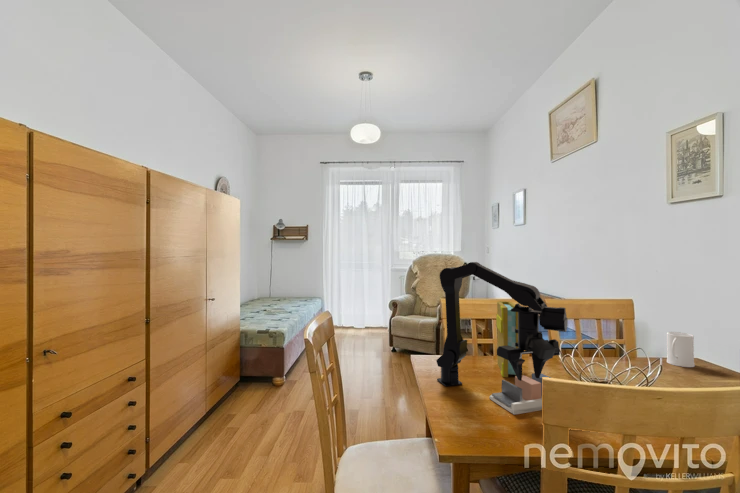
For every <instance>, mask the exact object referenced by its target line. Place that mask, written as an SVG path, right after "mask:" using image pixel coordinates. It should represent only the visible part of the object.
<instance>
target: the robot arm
mask: <svg viewBox="0 0 740 493" xmlns="http://www.w3.org/2000/svg"><path fill="white" fill-rule="evenodd" d="M470 276H474V277H477V278H479V279H480V280H482V281H484V282H486V283H488V284H490V285H492V286H494V287H496V288H498V289H500V290H501V291H503V292H505V293H506V294H507V295H509V297H510V298H511V299H513V300H514V301H515V302H517V303H515V306H514V307H513V308H512V309H511V311H512V312H518V329H515V333H518V342H517V343H515V346H517V347H518V348H514V347H511V346H509V345H507V346H499V347H498V348H497V347H496V356H497V355H498V356H500V357H502V358H504V359H507V360H509V362H510V364H511V365H512V368H513V370H514V372H515V374H516V376H517V378H518V380H520V381H521V380H522V375H523V364H524V363H525V362H526V360H525V359H523V356H522V355H529V354H531V359H532V360H531V361H532V366H533V367H532V368H533V373H535V377H536V378H539V377H540V374H541V373H542V371H543V368H544V367H545V364H546V362H548V361H549V360H550V359H553V358H554V357H555V356H560V352H561V351H560V344H559V341H558V340H557V339H544V336H543V333H542V331H539V326H541V328H543V329H544V330H545V331H546V330H547V331H556V332H563V333H567V331H568V317H567V312H566V309H567V308H566V307H562V306H561V307H560V306H559V307H554V306H552V307H551V306H548V305H547V304H546V302H545V301H544V300H543V299H542V297H541V295H540V294H541V293H540V290H539V289H538V288H537V287H536V286H534V285H531V284H528V283H525V282H521V281H516V280H513V279H510V278H508V277H507V276H504V275H503V274H500V273H498V272H496V271H494V270H493V269H491V268H488V267H486V266H484V265H482V264H480V262H477V261H471V262H468V263H467V264H466V263H465V264H463V265H459V266H457V267H456V266H455V267H454V266H453V267H446V268H445V267H444V268H443V269H442V270H440V272H439V280H440V286H441V289H442V290H443V293H444V296H445V318H446V319H445V320H446V337H445V341H444V343H443V350H442V355H441V356H439V357H438V358H437V359H436V365H437V366H438V367H440V377H438V378H437V379H436V381H437V382H439V383H441V385H442V386H444V387H454V386H459V385H463V381H460V380H459V364H460V363H461V362H462V359H464V358H465V357H466V356H467V353H468V352H469V350H468V339H464V338H463V336H462V333H461V332H462V330H461V311H460V310H461V309H460V308H461V307H460V291H461V288H462V284H463V279H464V278H468V277H470Z"/></svg>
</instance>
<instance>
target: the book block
mask: <svg viewBox="0 0 740 493" xmlns="http://www.w3.org/2000/svg"><path fill="white" fill-rule="evenodd" d="M514 385H515V386H517V387H519V388H521V389H522V398H523V399H524V400H526V401H528V400H535V399H541V383H540V382H538V381H535V380H533V379H532V377H529V376H527V375H524V374H522V380H521V381H520V380H518V378H517V376H515V375H514Z"/></svg>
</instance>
